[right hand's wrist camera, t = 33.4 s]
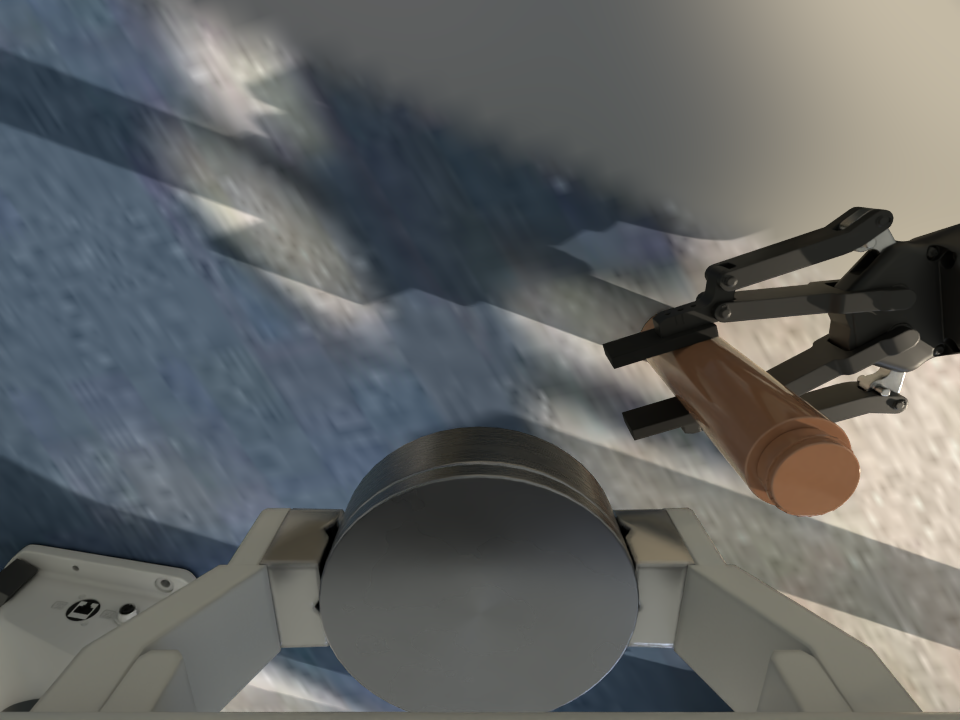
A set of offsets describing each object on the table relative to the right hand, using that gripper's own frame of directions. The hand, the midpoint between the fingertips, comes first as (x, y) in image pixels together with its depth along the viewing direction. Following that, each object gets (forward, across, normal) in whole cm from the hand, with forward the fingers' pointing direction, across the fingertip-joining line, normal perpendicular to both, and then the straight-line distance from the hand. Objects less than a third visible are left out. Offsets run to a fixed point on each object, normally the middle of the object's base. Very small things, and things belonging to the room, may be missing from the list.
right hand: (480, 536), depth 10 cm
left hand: (+24, +9, -7) cm, 26 cm away
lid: (-2, 0, 0) cm, 2 cm away
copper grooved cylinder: (+30, +14, -5) cm, 33 cm away
